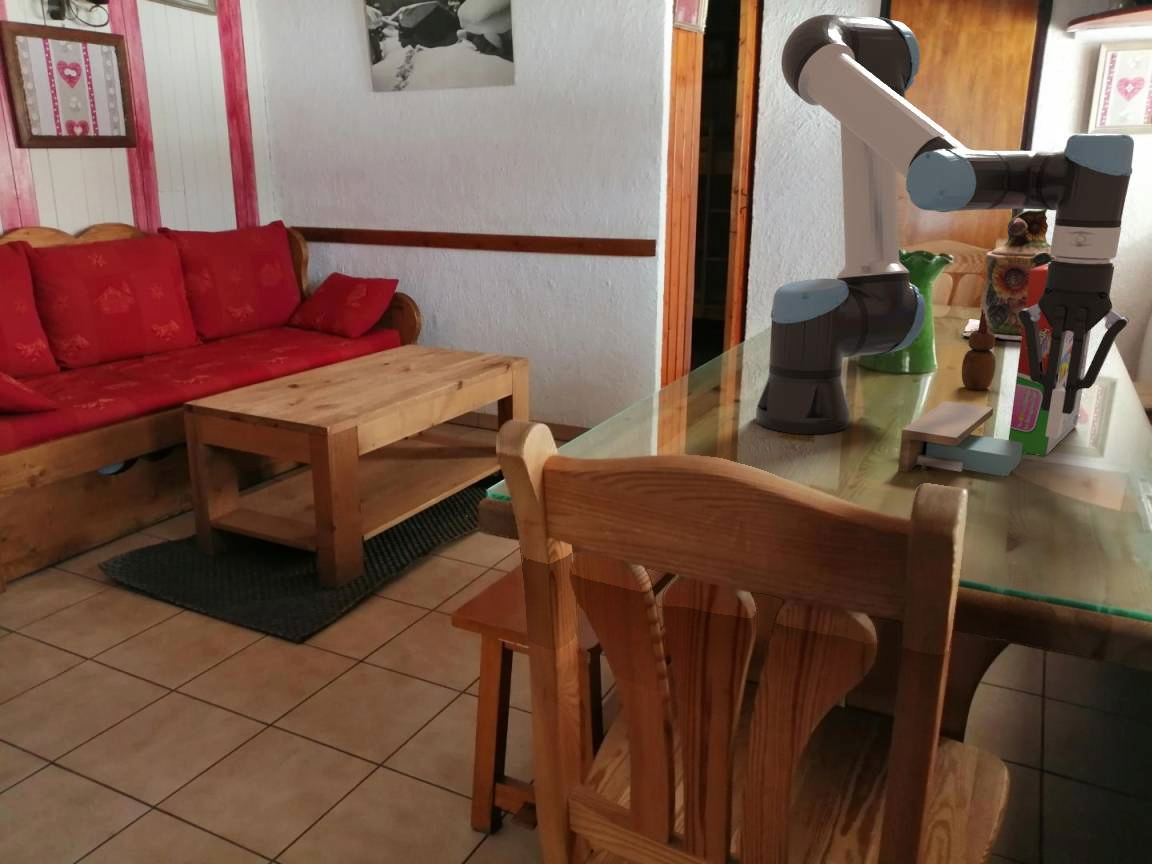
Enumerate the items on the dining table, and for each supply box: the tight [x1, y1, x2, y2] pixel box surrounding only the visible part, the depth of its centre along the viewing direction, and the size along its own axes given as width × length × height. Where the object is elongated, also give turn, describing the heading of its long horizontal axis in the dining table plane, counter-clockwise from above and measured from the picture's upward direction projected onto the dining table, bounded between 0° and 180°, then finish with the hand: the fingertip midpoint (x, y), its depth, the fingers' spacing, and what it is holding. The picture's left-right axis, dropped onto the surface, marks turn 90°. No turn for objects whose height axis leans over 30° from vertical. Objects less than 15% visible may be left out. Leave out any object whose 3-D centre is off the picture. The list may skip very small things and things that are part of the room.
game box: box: [1008, 264, 1092, 457], centre depth 138 cm, size 21×6×27 cm, turn 141°
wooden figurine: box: [961, 310, 997, 391], centre depth 173 cm, size 7×6×15 cm
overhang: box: [898, 400, 994, 473], centre depth 132 cm, size 7×20×6 cm, turn 143°
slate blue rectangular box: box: [926, 433, 1023, 477], centre depth 130 cm, size 11×8×3 cm
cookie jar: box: [962, 209, 1055, 341], centre depth 228 cm, size 25×25×32 cm
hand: (1053, 434), depth 123 cm, fingers closed
